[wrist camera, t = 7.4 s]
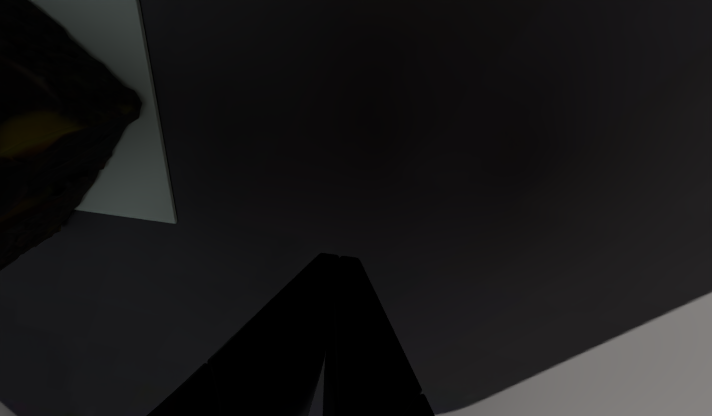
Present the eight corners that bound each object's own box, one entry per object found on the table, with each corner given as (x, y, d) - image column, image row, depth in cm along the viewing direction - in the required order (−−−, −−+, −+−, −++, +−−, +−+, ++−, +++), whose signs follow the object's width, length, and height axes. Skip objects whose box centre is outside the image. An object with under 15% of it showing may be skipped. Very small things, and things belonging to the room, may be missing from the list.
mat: (127, -71, 12) (122, -73, 12) (177, 221, 18) (175, 223, 18) (-216, -117, 12) (-225, -119, 12) (-51, 189, 18) (-56, 191, 18)
